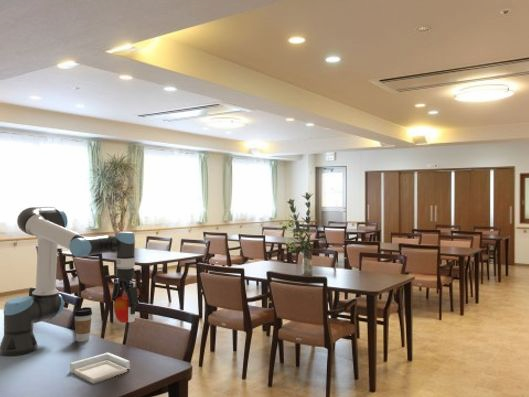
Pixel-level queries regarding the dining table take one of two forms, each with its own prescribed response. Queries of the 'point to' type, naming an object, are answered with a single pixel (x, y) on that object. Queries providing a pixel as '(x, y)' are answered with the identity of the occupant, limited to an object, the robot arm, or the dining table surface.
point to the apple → (121, 308)
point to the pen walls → (98, 359)
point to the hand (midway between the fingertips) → (124, 319)
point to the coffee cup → (83, 323)
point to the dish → (100, 371)
